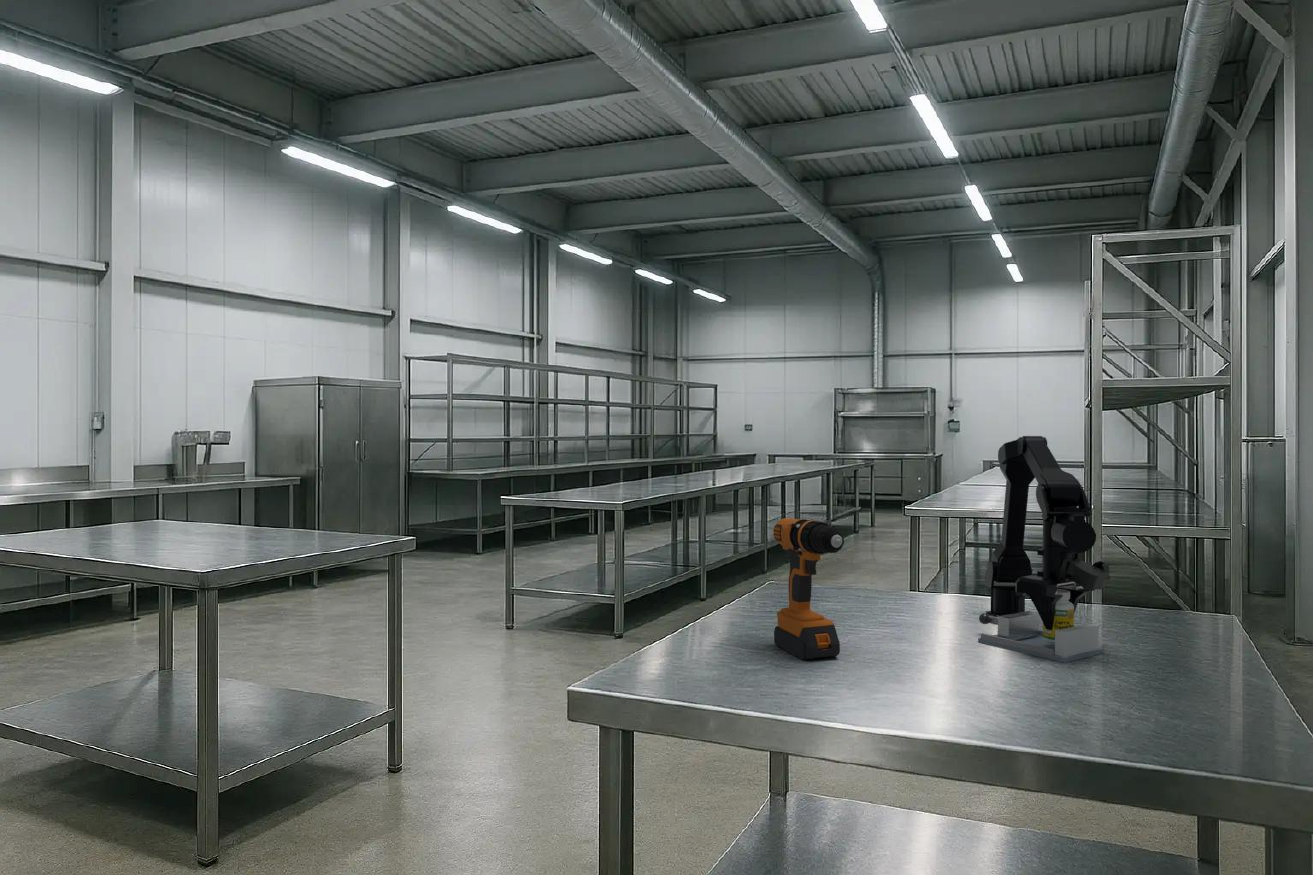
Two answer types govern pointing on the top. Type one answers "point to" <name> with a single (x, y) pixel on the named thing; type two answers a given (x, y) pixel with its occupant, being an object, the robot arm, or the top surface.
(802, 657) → the power drill
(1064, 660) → the vise base
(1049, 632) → the supplement bottle
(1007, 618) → the sliding jaw
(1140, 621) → the top surface
